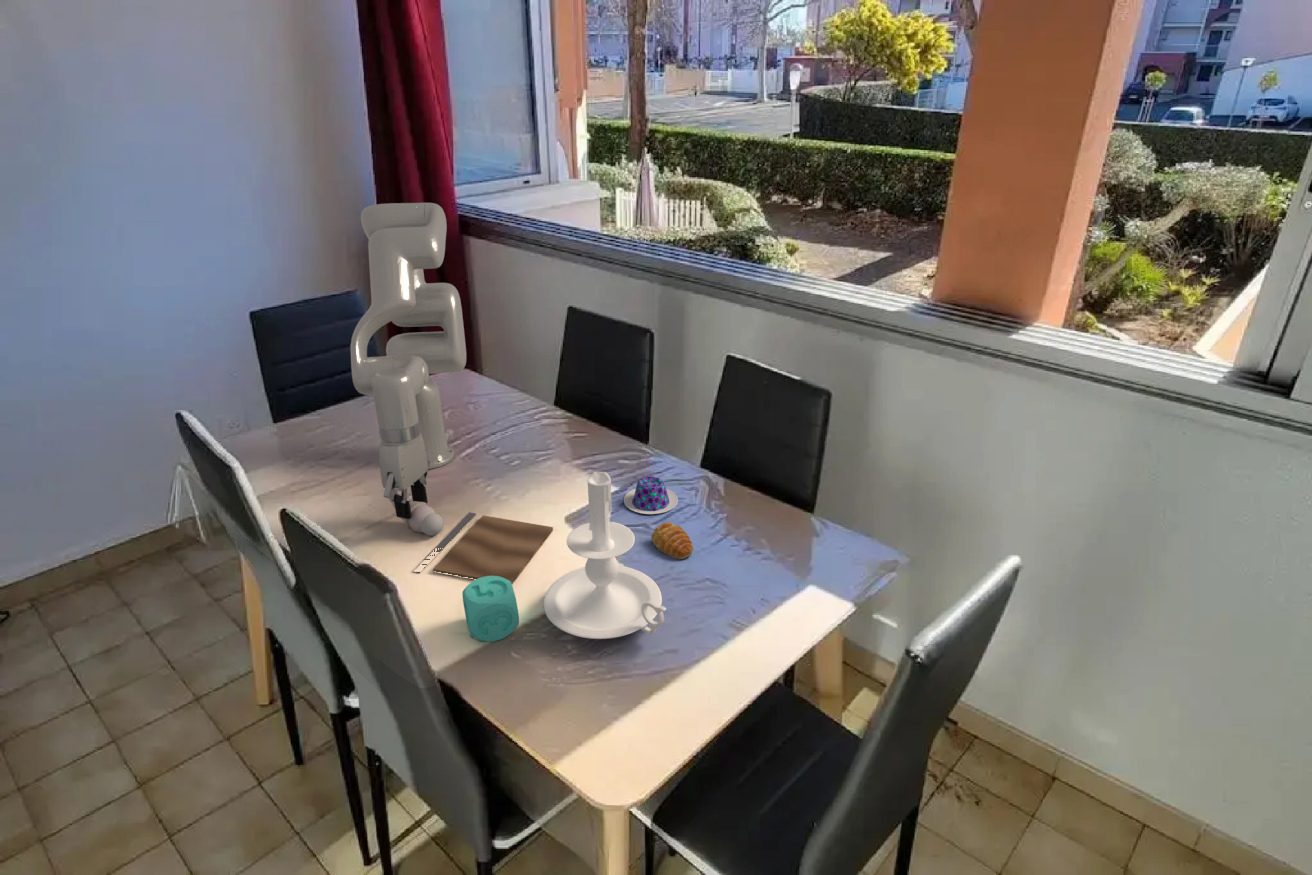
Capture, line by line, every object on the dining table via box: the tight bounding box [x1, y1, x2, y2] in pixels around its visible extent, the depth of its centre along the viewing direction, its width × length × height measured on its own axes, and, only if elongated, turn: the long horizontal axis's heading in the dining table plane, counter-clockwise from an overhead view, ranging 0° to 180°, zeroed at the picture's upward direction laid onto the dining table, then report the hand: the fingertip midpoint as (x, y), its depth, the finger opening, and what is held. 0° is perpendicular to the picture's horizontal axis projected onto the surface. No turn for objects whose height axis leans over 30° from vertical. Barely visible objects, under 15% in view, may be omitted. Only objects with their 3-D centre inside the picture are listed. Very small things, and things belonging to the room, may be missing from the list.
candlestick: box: [543, 471, 667, 640], centre depth 131 cm, size 21×25×28 cm
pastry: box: [651, 522, 694, 560], centre depth 156 cm, size 9×7×4 cm
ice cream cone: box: [388, 499, 444, 537], centre depth 162 cm, size 6×6×15 cm
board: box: [432, 514, 554, 585], centre depth 156 cm, size 20×16×1 cm
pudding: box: [623, 475, 679, 515], centre depth 172 cm, size 12×12×5 cm
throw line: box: [422, 512, 477, 565], centre depth 159 cm, size 22×2×1 cm, turn 164°
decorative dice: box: [461, 576, 520, 643], centre depth 134 cm, size 8×8×8 cm
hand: (412, 509), depth 162 cm, fingers closed on ice cream cone, 5 cm apart
